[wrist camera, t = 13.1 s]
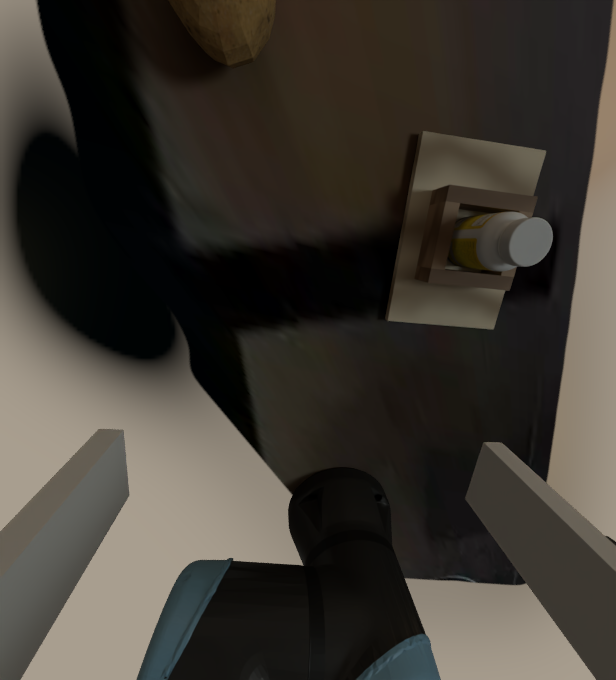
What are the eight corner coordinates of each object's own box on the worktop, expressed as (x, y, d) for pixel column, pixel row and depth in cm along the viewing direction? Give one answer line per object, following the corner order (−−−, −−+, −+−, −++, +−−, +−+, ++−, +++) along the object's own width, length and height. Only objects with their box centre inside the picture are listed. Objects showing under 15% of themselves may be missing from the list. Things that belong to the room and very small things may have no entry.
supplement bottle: (470, 273, 36) (538, 284, 27) (432, 256, 35) (488, 262, 26) (494, 227, 35) (573, 222, 25) (454, 209, 34) (522, 197, 24)
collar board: (488, 327, 40) (513, 337, 35) (385, 318, 38) (398, 328, 34) (538, 153, 34) (576, 140, 29) (419, 134, 32) (440, 117, 28)
